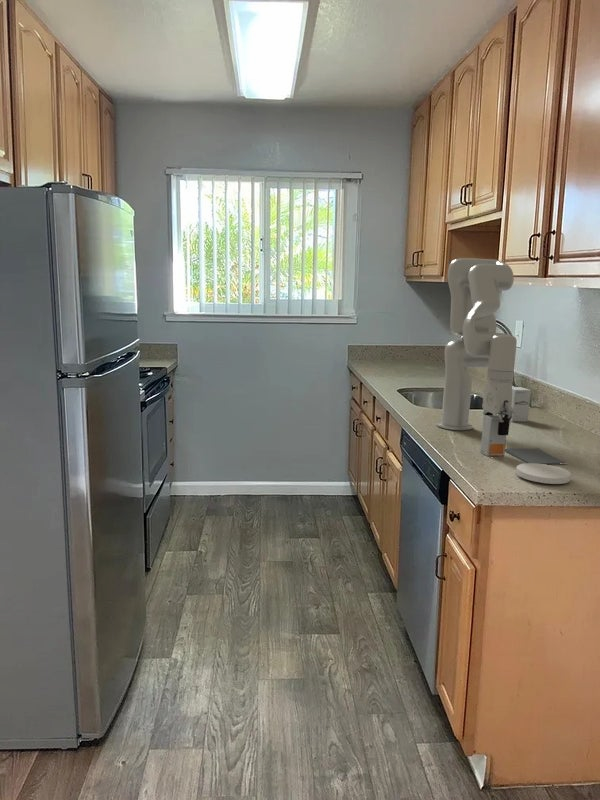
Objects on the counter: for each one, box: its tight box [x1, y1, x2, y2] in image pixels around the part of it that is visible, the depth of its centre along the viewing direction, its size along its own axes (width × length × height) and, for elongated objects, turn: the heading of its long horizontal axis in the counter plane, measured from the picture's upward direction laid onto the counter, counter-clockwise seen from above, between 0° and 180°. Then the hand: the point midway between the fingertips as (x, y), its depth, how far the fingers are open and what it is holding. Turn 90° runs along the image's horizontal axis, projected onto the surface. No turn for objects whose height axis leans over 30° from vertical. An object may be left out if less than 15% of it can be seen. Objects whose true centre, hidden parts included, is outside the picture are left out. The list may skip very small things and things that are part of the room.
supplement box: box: [502, 386, 532, 423], centre depth 249 cm, size 7×7×13 cm
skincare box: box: [479, 414, 507, 457], centre depth 196 cm, size 6×4×12 cm
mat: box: [504, 447, 567, 465], centre depth 196 cm, size 16×12×1 cm
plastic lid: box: [515, 462, 572, 485], centre depth 175 cm, size 14×14×2 cm
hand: (495, 431), depth 196 cm, fingers open, 9 cm apart
